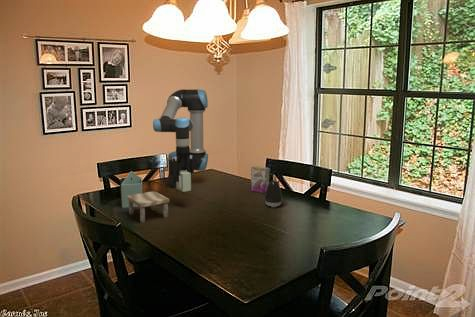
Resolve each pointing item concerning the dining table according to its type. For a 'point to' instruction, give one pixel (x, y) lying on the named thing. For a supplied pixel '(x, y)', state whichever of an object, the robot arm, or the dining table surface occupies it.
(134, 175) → the teal gabled house
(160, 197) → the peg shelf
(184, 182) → the sage block
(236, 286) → the dining table surface
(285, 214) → the dining table surface
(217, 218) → the dining table surface
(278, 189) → the dark grey cone
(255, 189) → the candy bar box
